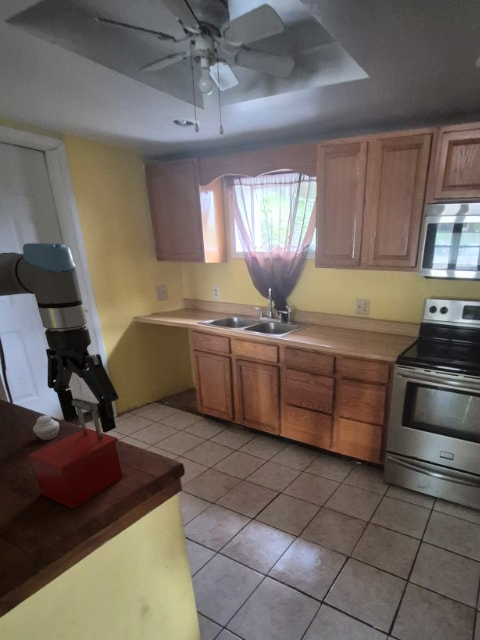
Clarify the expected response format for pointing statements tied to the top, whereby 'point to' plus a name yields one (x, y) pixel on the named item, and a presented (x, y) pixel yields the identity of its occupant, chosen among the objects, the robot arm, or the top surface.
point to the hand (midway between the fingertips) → (89, 423)
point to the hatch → (75, 441)
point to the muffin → (46, 428)
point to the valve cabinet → (79, 477)
